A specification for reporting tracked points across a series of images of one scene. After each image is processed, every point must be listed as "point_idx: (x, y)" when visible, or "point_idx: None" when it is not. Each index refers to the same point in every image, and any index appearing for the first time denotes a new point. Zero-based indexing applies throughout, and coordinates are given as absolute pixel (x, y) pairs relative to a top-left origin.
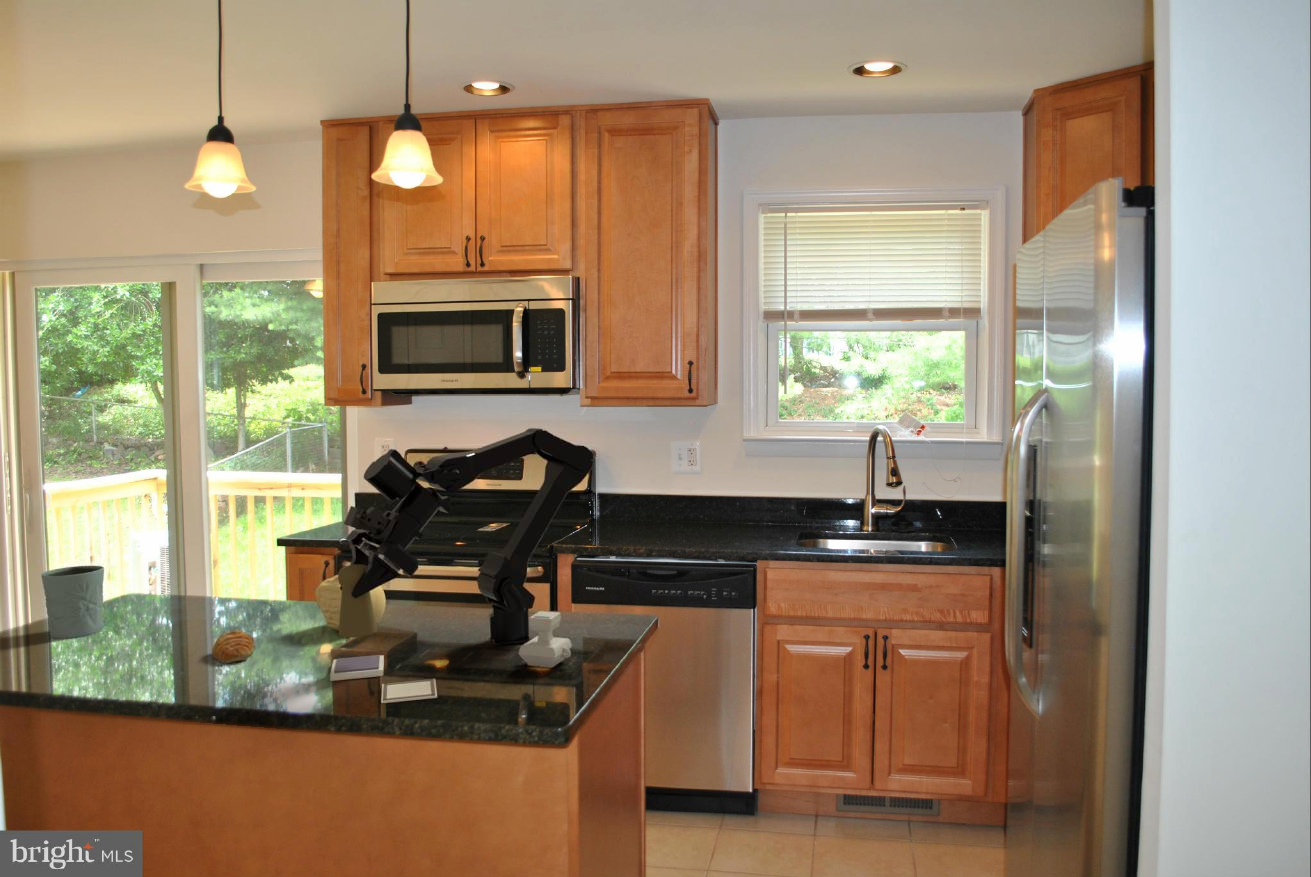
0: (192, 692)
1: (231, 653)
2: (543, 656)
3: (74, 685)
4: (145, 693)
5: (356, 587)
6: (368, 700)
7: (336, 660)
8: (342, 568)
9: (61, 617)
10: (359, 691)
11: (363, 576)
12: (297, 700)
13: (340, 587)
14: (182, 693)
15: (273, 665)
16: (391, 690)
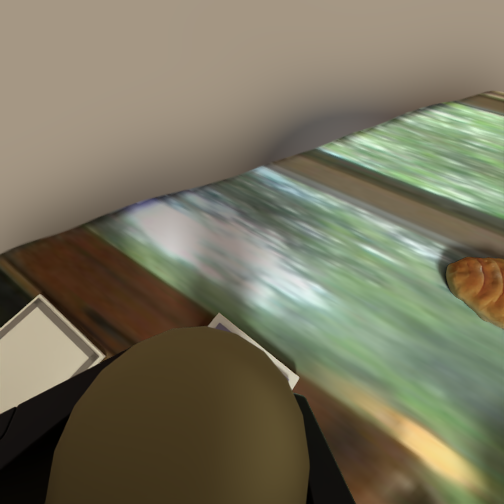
0: (342, 175)
1: (462, 264)
2: None
3: (475, 122)
4: (382, 147)
5: (101, 363)
6: (76, 292)
7: (290, 378)
8: (228, 367)
9: None
10: (125, 311)
11: (20, 411)
12: (185, 231)
13: (297, 395)
14: (348, 167)
15: (387, 306)
16: (59, 342)
